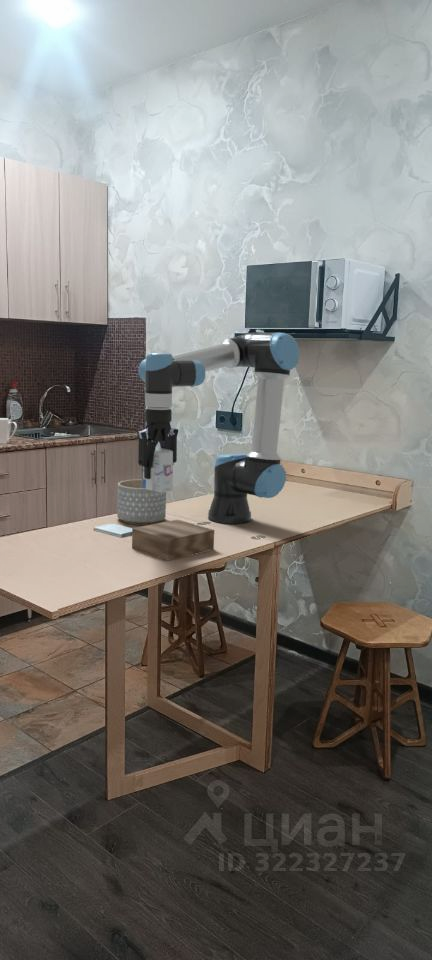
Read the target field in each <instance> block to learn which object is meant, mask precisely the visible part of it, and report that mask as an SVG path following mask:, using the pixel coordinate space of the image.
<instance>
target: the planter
mask: <svg viewBox="0 0 432 960" xmlns="http://www.w3.org/2000/svg"><path fill="white" fill-rule="evenodd" d="M166 510H167V492H161V493H160V492H157V491H153V490H152V491H151V490H148V489H146V488H143V479H127V480H121V481H119V482H118V483H117V510H116V511H117V514H116V515H117V518H118V519H119V520H121V521H122V522H124V523H125V524H130V525H138V526H140V525H142V526H147V525H152V524H157V523H161V521H162V520H165V519H166V514H167V511H166Z"/></svg>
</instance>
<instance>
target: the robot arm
mask: <svg viewBox="0 0 432 960" xmlns="http://www.w3.org/2000/svg"><path fill="white" fill-rule="evenodd" d="M299 360H300V348H299V345H298V342H297V341H296V339H295V337H293V336H292V335H291V334H288V333H287V332H286V333H285V332H248V333H244V334H241V335H238V336H234V337H229V338H226V339H223V340H222V341H221V342H220V343H218V344H213V345H210V346H206V347H201V348H197V349H194V350H189V351H188V350H187V351H183V352H181V353H175V354H172V353H167V352H166V353H165V352H164V353H163V352H162V353H161V352H160V353H159V352H149V353H148V354H147V355H146V357H145V359H143V360H142V361H141V362H140V363H139V365H138V376H139V378H140V379H141V381H142V382H144V383H145V384H144V385H145V399H144V400H145V404H144V407H146V408H145V410H144V411H145V412H144V416H145V417H144V421H145V423H146V425H145V427H144V429H143V430H138V431H137V433H136V435H137V437H138V454H137V455H138V466H140V467H142V468H143V467H144V477H145V478H146V489H148V490H151V491H152V490H154V468H152V463H153V458H154V451H155V449H156V447H157V445H158V443H159V446H160V447H159V448H163V449H167V450H172V451H173V466H174V464H175V463H177V461H178V458H177V456H178V455H177V454H178V453H177V452H178V450H177V448H178V444H177V443H178V436H179V435H178V434H179V429H177V428H173V427H172V426H171V422H172V420H173V419H172V416H173V415H172V414H173V413H172V409H171V408H172V407H173V388H174V387H180V388H181V387H191V388H193V387H198V386H200V385H202V384H203V382H204V381H205V379H206V372H209V371H214V370H217V369H221V368H225V367H226V368H227V369H233V368H237V367H241V368H242V367H245V368H254V371H253V372H254V375H255V376H256V377H257V379H258V381H257V388H256V389H257V390H256V397H255V407H254V409H255V410H254V418H253V427H252V428H253V429H252V439H251V449H250V451H249V452H247V453H228V454H219V455H217V456H216V458H215V464H214V477H213V478H214V480H213V481H214V484H213V486H214V487H213V499H212V501H211V505H210V508H209V510H208V513H207V516H208V517H207V519H208V520H210V521H212V522H215V523H219V524H220V523H221V524H231V525H232V524H233V525H234V524H238V525H239V524H244V523H248V522H250V521H251V520H252V512H251V509H250V506H249V501H248V495H251V496H255V497H258V498H264V499H272V498H274V497H277V496H278V495H279V493H281V491H282V490H283V489H284V486H285V484H286V481H287V473H286V471H285V468H284V466H282V465H281V461H282V458H281V457H280V456H279V454H278V445H279V434H280V427H281V426H280V425H281V415H282V407H283V406H282V405H283V396H284V388H285V381H286V380H287V379H288V378H289V377H290V376H291V374H290V373H291V371H292V370H294V368H296V367H297V365H298V363H299Z"/></svg>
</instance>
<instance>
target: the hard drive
mask: <svg viewBox="0 0 432 960" xmlns="http://www.w3.org/2000/svg"><path fill="white" fill-rule="evenodd" d="M132 528H133V527H129V526H125V525H121V524H116V523H107V524H102V525H99V526H95V527H93V530H94V531H95V530H96V532H99V533H102V532H103V534H107V535H110V536H114V537H118V538H125V537H129V536H132Z"/></svg>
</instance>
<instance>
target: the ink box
mask: <svg viewBox="0 0 432 960" xmlns="http://www.w3.org/2000/svg"><path fill="white" fill-rule="evenodd" d="M152 468H154V490H153V491H157V492H160V493H161V492H166V493H167V492H171V491H174V490H173V487H174V486H173V485H174V482H173V481H174V480H173V476H174V475H173V473H174V470H173V469H174V465H173V451H172V450H167V449H163V448H161V447H158V446H156V449H155V451H154V458H153V463H152ZM142 480H143V488H146V478H145V477H144V467H143V466H142Z"/></svg>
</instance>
